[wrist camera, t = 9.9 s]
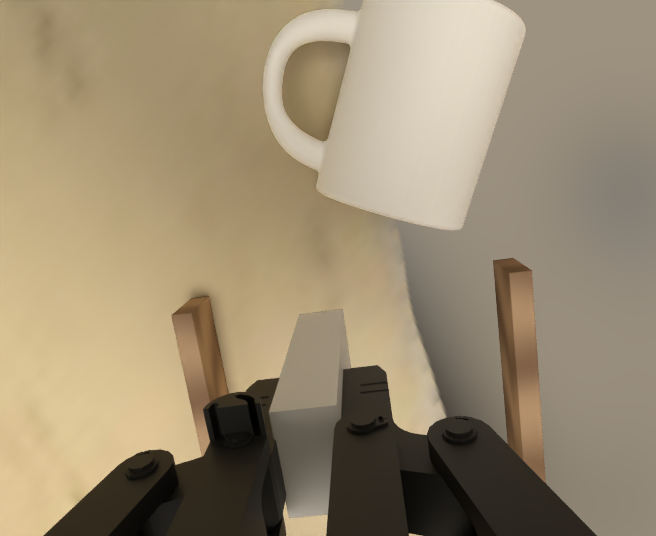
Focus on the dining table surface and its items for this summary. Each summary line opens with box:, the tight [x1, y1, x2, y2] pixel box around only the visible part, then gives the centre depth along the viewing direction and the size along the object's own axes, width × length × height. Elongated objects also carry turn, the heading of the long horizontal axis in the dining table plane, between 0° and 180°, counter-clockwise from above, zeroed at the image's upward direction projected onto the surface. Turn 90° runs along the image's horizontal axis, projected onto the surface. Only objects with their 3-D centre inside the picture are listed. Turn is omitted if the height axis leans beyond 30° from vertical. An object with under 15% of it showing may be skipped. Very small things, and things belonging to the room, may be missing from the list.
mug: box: [263, 0, 526, 231], centre depth 26 cm, size 12×10×8 cm
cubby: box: [171, 258, 546, 483], centre depth 33 cm, size 24×20×4 cm
